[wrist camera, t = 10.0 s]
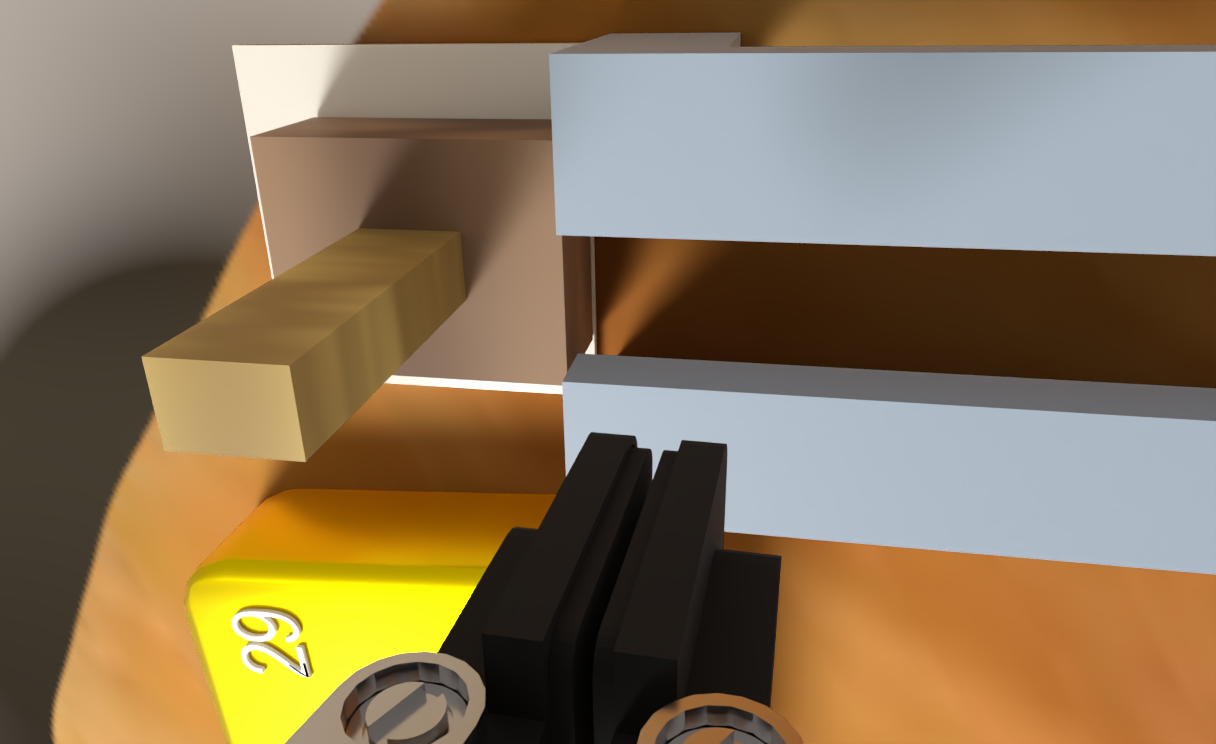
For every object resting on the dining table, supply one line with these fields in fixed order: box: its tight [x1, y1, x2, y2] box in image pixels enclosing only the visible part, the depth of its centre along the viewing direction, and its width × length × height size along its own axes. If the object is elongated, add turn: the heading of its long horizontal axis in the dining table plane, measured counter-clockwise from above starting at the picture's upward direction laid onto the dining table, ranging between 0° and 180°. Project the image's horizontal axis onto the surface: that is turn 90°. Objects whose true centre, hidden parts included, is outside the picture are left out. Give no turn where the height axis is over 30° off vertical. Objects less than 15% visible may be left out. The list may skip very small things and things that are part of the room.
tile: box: [232, 43, 597, 394], centre depth 24 cm, size 9×9×1 cm
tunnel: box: [549, 32, 1216, 574], centre depth 19 cm, size 16×9×6 cm, turn 91°
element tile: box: [184, 488, 557, 744], centre depth 28 cm, size 15×15×5 cm
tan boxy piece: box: [142, 117, 593, 462], centre depth 18 cm, size 7×6×11 cm
